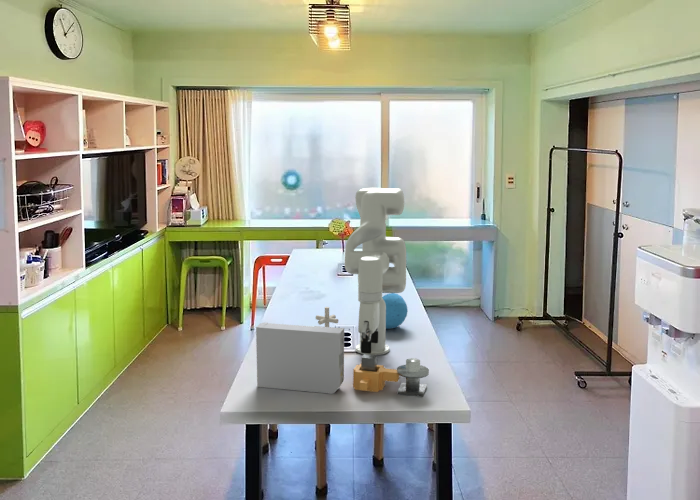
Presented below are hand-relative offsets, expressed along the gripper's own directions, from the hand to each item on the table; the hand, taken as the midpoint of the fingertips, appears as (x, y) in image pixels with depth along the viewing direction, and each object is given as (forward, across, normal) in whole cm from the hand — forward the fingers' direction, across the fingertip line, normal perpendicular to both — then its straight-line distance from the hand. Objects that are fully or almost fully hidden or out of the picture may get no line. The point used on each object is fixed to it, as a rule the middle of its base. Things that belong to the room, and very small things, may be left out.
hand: (369, 347), depth 221 cm
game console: (+13, +8, -21) cm, 26 cm away
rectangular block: (+13, +1, 0) cm, 13 cm away
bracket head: (+13, +3, +3) cm, 13 cm away
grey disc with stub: (+13, +1, +14) cm, 19 cm away
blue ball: (+15, -64, -8) cm, 66 cm away
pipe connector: (+14, -52, -30) cm, 62 cm away
